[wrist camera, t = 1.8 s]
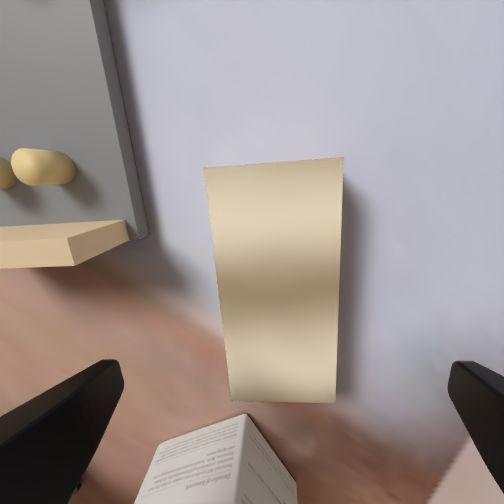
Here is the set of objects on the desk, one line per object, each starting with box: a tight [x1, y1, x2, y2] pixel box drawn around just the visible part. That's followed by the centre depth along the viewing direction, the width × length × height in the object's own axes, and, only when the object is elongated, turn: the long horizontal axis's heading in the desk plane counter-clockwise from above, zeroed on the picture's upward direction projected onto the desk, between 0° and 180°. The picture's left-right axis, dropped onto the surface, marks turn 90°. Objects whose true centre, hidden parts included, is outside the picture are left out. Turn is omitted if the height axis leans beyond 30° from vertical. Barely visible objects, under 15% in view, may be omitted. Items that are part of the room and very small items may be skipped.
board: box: [204, 157, 344, 403], centre depth 12 cm, size 11×5×3 cm, turn 4°
